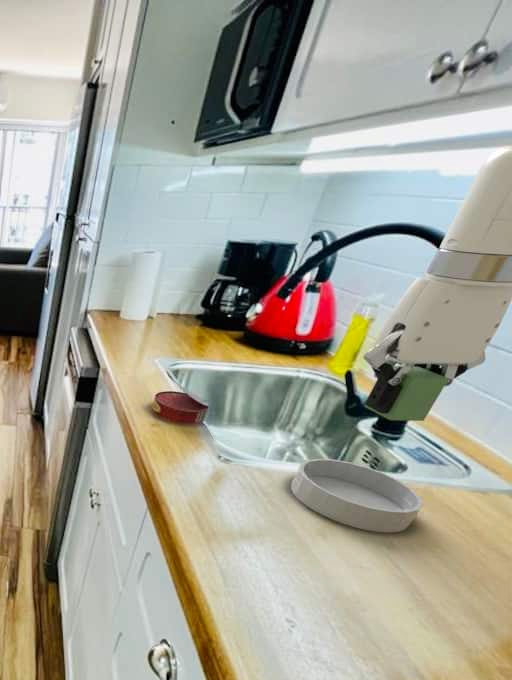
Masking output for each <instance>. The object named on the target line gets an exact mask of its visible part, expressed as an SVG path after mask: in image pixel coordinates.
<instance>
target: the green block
mask: <svg viewBox="0 0 512 680" xmlns="http://www.w3.org/2000/svg"><path fill="white" fill-rule="evenodd" d="M398 367H399V365H398V366H397V365H395V366H394V367H393V369H394V371H396V369H397V368H398ZM448 379H449V378H446V377H444V376H441V375H438V374H436V373H433V372H431V371H428V370H426V368H423V367H420V366H413V367H412V369H411V370H410V371H409V372H408V373H407V375H406V376H405V377H404V378H403V380H402V381H401V382H400V383H399V384H398V385H400V386H403V387H402V389H401V391H400V393H399V394H398V396H397V398H396V400H395V402H394V403H393V405H392V407H391V409H390V411H389V412H388V413H380V412H378V411H376V410H374V409H372V408H370V407H368V406H366V404H365V403H364V408H366V409H368V410H370V411H371V412H373V413H375V414H378V415H379V416H381V417H382V418H385V419H387V420H389V421H408V422H409V421H411V422H412V421H413V422H424V421H425V419H426V418H427V416H428V414H429V413H430V412H431V410H432V408H433V406H434V404H435V403H436V401H437V400H438V398H439V396H440V395H441V393H442V391H443V389H444V388H445V387H444V386H445V384H446V383H447V381H448Z"/></svg>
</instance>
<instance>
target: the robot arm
mask: <svg viewBox="0 0 512 680" xmlns="http://www.w3.org/2000/svg"><path fill="white" fill-rule="evenodd" d="M439 245H440V246H439V248H437V251H436V253H435V255H434V257H433V259H432V261H431V263H430V264H429V267H428V268H427V270H426V272H425V274H424V276H417V277H416V279H415V280H414V281H413V282H412V283H411V284H410V285H409V287H408V288H407V289H406V291H405V292H404V293H403V295H402V296H401V298H400V299H399V300H398V302H397V303H396V305H395V306H394V307H393V309H392V311H391V312H390V314H389V316H388V317H387V318H386V321H385V323H384V324H383V326H382V327H381V330H380V331H379V333H378V335H377V337H376V339H375V341H374V343H373V346H372V348H371V349H370V350H368V351H367V352H366V353H365V354H364V355H363V359H364V361H366V362H367V364H369V366H371V369H372V371H373V372H374V374H373V377H374V378H375V379H376V381H375V383H374V385H373V387H372V389H371V390H370V393H369V395H368V396H367V398H366V400H365V402H364V405H365V404H366V406H368V407H370V408H372V409H374V410H376V411H378V412H380V413H388V412H389V411H390V409H391V407H392V405H393V403H394V402H395V400H396V398H397V396H398V394H399V393H400V391H401V389H402V387H403V386H400V385H398V384H399V383H400V382H401V381H402V380H403V378H404V377H405V376H406V375H407V373H408V372H409V371H410V370H411V369H412V367H415V365H426V366H425V369H426V370H428V371H431V372H433V373H436V374H438V375H441V376H444V377H446V378H449V379H448V381H447V383H446V384H445V386H444V388H445V387H449V386H451V385H452V384H453V382H454V380H455V379H457V378H458V377H459V376H461V375H463V374H464V373H466V372H467V371H468V370H471V369H473V368H475V367H477V366H480V365H482V364H483V363H485V361H486V353H485V351H486V349H487V348H488V346H489V344H490V343H491V341H492V340H493V338H494V336H495V334H496V332H497V330H498V329H499V327H500V325H501V324H502V322H503V319H504V317H505V315H506V314H507V310H508V309H509V306H510V303H511V301H512V145H506V146H503V147H500V148H498V149H496V150H494V151H493V152H492V153H489V155H488V156H487V157H486V158H485V160H484V161H483V163H482V164H481V166H480V167H479V169H478V171H477V173H476V175H475V177H474V179H473V182H472V183H471V185H470V186H469V189H468V191H467V193H466V195H465V197H464V199H463V201H462V202H461V204H460V206H459V209H458V210H457V212H456V214H455V216H454V218H453V220H452V222H451V224H450V225H449V228H448V230H447V232H446V233H445V236H444V238H443V239H442V241H441V243H440V244H439ZM396 365H398V366H399V367H398V368H397V369H396V371H394V369H393V367H394V366H396Z"/></svg>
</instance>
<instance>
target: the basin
mask: <svg viewBox="0 0 512 680" xmlns="http://www.w3.org/2000/svg"><path fill="white" fill-rule="evenodd" d="M290 489H291V492H292V494H293V495H294V497H295V498H297V500H298V501H299V502H301V503H302V504H304V506H306V507H308V508H309V509H311V510H312V511H314V512H316V513H318V514H319V515H322V516H323V517H326V518H327V519H328V518H329V519H330V520H333V521H334V522H338V523H341V524H344V525H346V526H349V527H352V528H356V529H362V530H365V531H370V532H376V533H398V532H402V531H404V530H406V529H408V527H409V526H410V525H411V524H412V522H413V521H414V519H415V518H416V517H417V515H418V514H419V513H420V511H421V509H422V508H423V506H424V502H423V499H422V497H421V495H420V494H419V493H418V492H416V490H414V489H413V488H412V487H411V486H409V485H407V483H404V482H403V481H401V480H399V479H398V478H396V477H393V476H391V475H389V474H387V473H384V472H382V471H379V470H377V469H374V468H371V467H368V466H364V465H361V464H357V463H354V462H350V461H345V460H338V459H333V458H314V459H313V458H312V459H307V460H305V461H303V462H302V463H300V465H299V467H298V469H297V470H296V472H295V475H294V477H293V480H292V482H291V485H290Z"/></svg>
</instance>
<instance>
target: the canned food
mask: <svg viewBox="0 0 512 680" xmlns="http://www.w3.org/2000/svg"><path fill="white" fill-rule="evenodd" d="M165 373H166V374H167V376H168V377H169V378H170V380H172V381H173V382H174V383H175V385H177V386H178V387H179V388H180V390H182V391H183V392H182V391H172V390H168V391H166V390H164V391H160V392H157V393H156V394H155V395H154V399H153V402H152V404H151V405H152V406H151V408H150V409H151V412H152V414H153V415H154V416H156V417H157V418H159V419H161V420H164V421H167V422H169V423H173V424H174V423H175V424H178V425H184V426H185V425H187V426H193V425H195V426H196V425H199V424H202V423H204V421H205V418H206V415H207V412H208V410H209V408H210V404H209V403H208V402H207V401H206V400H205V399H204V398H201V397H200V396H198V395H197V394H195V393H193V392H192V391H190V390H189V389H187V388H185V387H183V386H182V385H180V384H179V383H178V382H177V381H176V380H175V379H174V378H173V376H172V375H171V374H170V373H169V372H168V370H165Z"/></svg>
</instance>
